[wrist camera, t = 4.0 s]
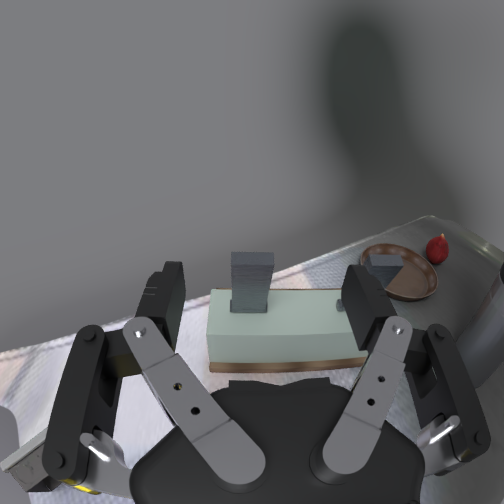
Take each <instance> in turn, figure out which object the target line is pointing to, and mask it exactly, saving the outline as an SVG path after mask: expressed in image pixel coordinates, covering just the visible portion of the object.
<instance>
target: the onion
mask: <svg viewBox="0 0 504 504" xmlns="http://www.w3.org/2000/svg"><path fill="white" fill-rule="evenodd" d="M448 253H449V248H448V243H447V241H446V240H445V237H444V234H443V233H442V234H441V236H439V237H435V238H433V239H431V240H430V241H429V242H428V244H427V247H426V254H427V257H428V259H429V261H430V263H432V264H437V263H442V262H443V261H444V260H445V259H446V258H447V256H448Z"/></svg>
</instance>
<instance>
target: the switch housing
mask: <svg viewBox="0 0 504 504" xmlns="http://www.w3.org/2000/svg"><path fill="white" fill-rule="evenodd" d="M230 299H232V290H220V289H216V290H215V289H211V296H210V305H209V314H208V323H207V333H206V336H207V344H208V352H209V360H210V362H222V363H282V362H306V361H323V360H336V359H348V358H358V357H367V356H368V351H367V350H365V351H359V350H358V347H357V344H356V341H355V338H354V335H353V332H352V329H351V326H350V323H349V320H348V317H347V314H346V311H337V309H336V302H337V299H341V290H269V293H268V298H267V303H268V308H267V313H259V312H230Z"/></svg>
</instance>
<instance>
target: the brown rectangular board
mask: <svg viewBox="0 0 504 504" xmlns="http://www.w3.org/2000/svg"><path fill="white" fill-rule="evenodd" d="M216 289H220V290H232V288H216ZM341 289H342V288H337V289H269V290H341ZM365 359H366V357H358V358H348V359H336V360H323V361H306V362H282V363H222V362H210V366H209V370H210V372H222V373H279V372H303V371H318V370H331V369H342V368H352V367H361V366H363V364H364V362H365Z"/></svg>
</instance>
